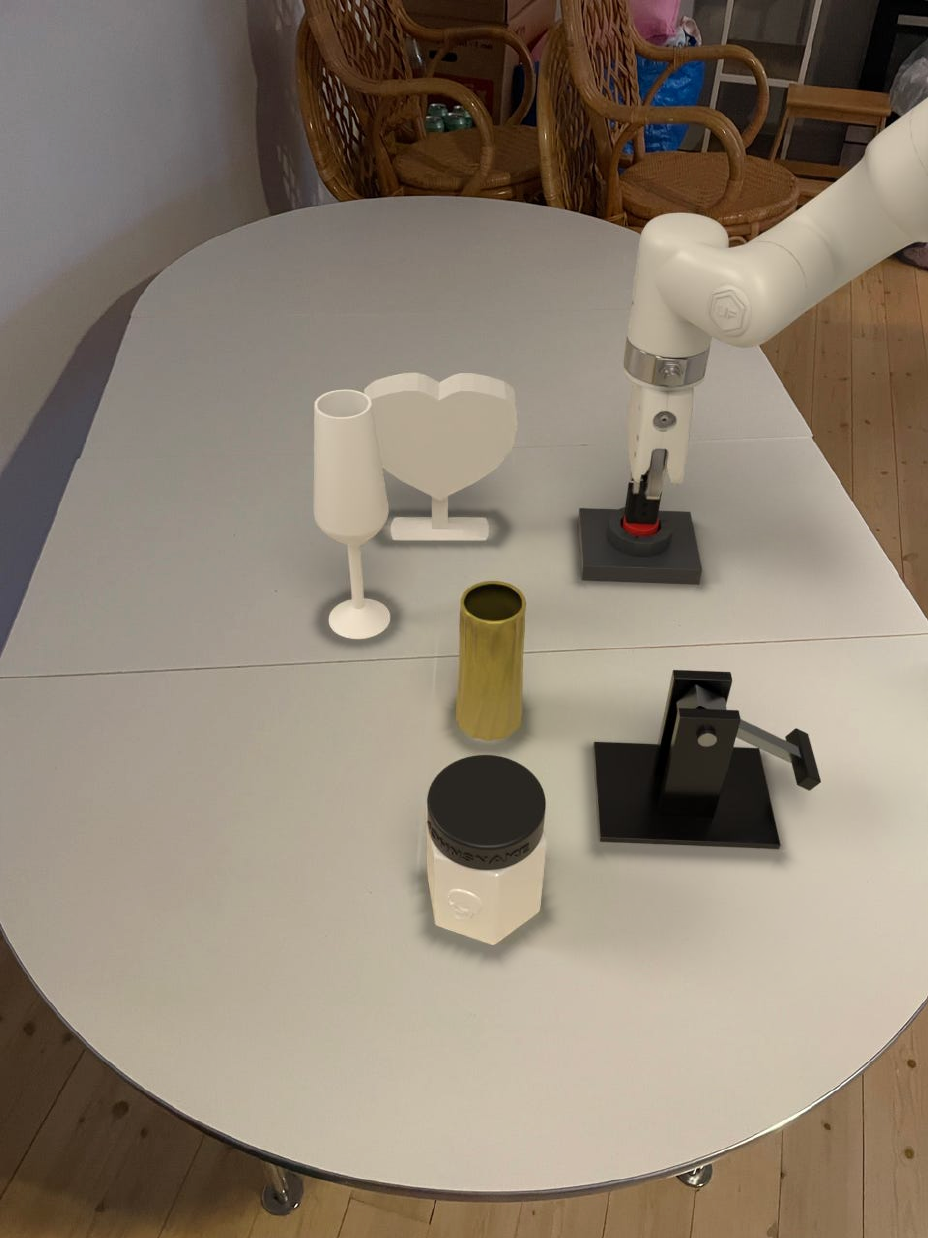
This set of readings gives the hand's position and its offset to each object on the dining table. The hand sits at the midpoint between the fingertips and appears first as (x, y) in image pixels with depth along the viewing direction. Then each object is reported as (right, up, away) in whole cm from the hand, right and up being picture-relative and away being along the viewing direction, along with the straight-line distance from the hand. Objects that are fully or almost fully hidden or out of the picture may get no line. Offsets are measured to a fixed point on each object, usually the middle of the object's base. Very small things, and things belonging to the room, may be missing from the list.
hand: (640, 518), depth 108 cm
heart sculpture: (-21, -1, +6) cm, 22 cm away
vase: (-16, -20, -15) cm, 30 cm away
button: (0, -1, +1) cm, 2 cm away
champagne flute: (-28, -11, -5) cm, 31 cm away
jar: (-17, -32, -29) cm, 46 cm away
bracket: (0, -25, -22) cm, 33 cm away
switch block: (0, -3, +3) cm, 5 cm away
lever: (+3, -20, -27) cm, 34 cm away
